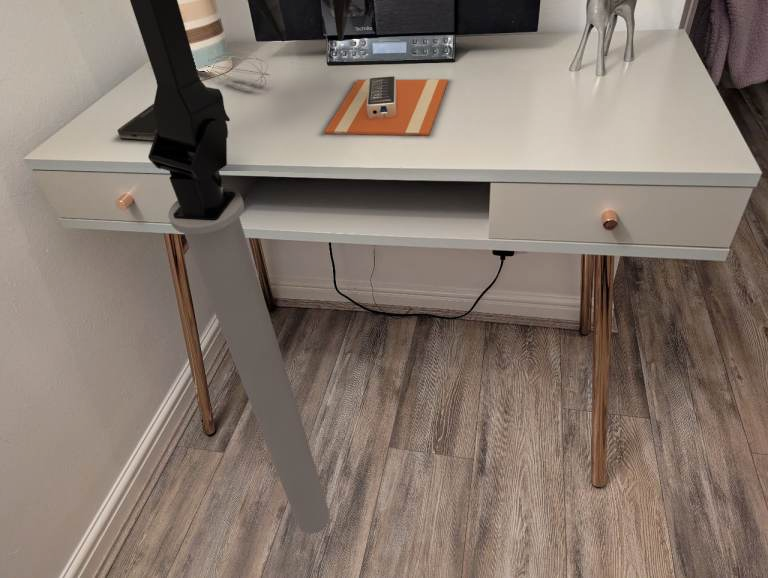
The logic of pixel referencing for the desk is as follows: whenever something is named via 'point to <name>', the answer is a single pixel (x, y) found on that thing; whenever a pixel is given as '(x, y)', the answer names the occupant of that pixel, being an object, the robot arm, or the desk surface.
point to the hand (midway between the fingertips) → (312, 40)
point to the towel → (412, 110)
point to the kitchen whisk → (240, 69)
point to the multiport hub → (382, 98)
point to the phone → (140, 126)
